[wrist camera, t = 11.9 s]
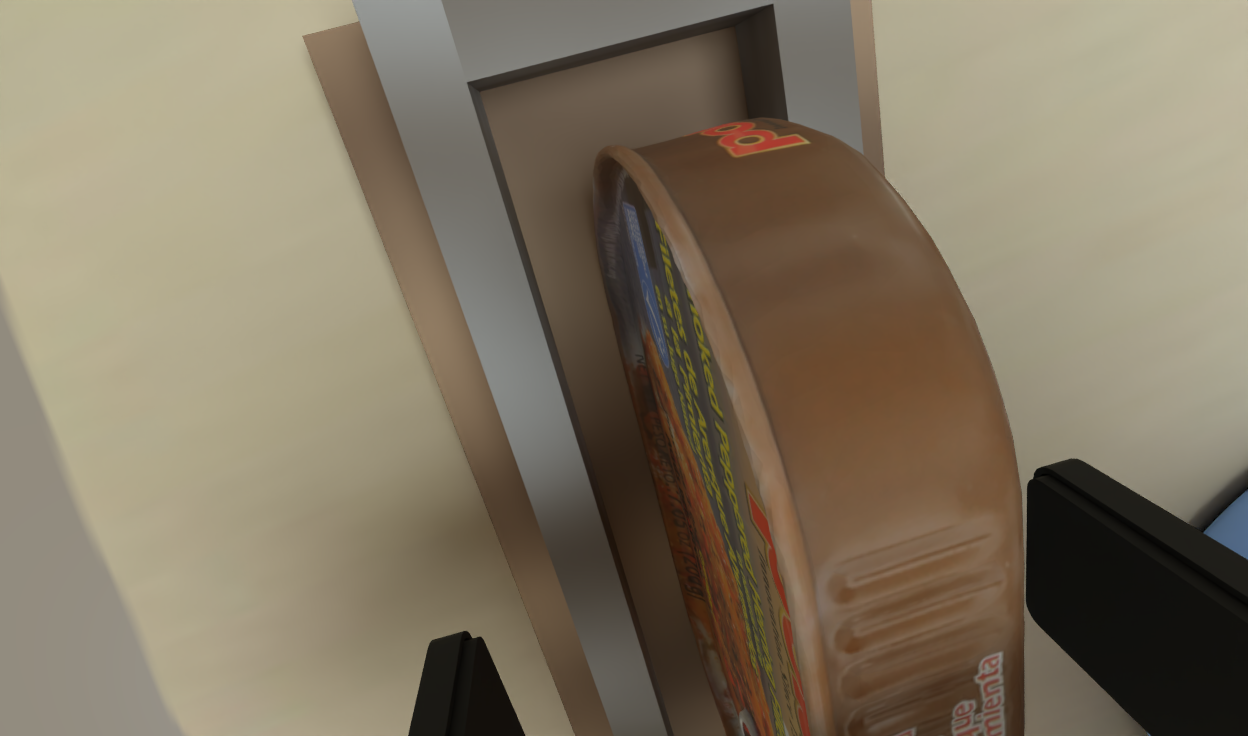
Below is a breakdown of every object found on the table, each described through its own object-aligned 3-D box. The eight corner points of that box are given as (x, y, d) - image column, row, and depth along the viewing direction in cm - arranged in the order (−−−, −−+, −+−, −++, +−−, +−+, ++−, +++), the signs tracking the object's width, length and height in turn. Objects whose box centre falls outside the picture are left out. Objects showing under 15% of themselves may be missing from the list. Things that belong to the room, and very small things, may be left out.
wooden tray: (907, 692, 19) (969, 785, 17) (602, 781, 19) (613, 891, 16) (837, -87, 12) (931, -158, 9) (321, 44, 11) (249, 13, 8)
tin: (566, 148, 12) (619, 169, 4) (727, 107, 12) (1109, 42, 4) (709, 704, 17) (850, 1183, 9) (817, 673, 17) (1046, 1121, 9)
